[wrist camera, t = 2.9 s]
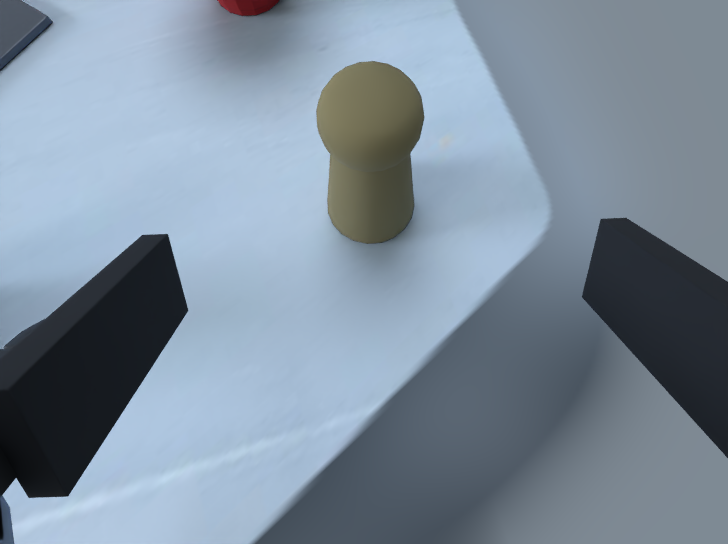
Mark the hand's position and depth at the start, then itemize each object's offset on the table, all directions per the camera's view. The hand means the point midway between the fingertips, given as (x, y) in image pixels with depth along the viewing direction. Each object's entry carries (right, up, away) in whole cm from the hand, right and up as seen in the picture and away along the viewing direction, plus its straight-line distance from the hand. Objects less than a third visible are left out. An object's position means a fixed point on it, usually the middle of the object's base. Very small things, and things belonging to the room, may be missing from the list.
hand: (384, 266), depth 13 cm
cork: (0, +5, +16) cm, 17 cm away
